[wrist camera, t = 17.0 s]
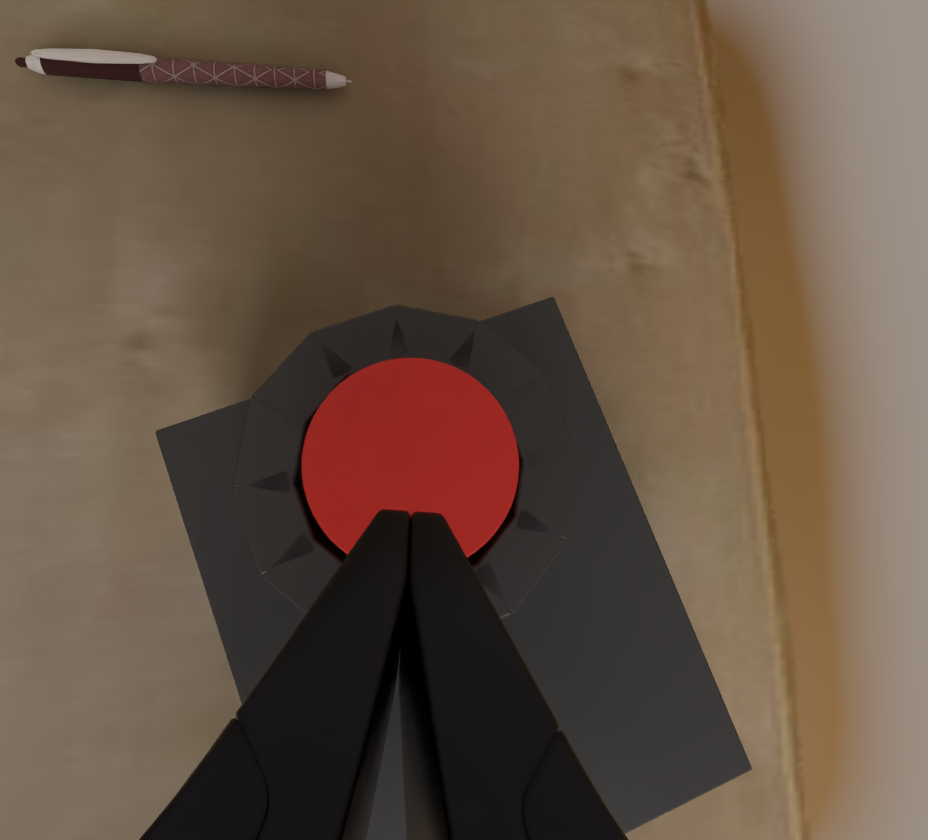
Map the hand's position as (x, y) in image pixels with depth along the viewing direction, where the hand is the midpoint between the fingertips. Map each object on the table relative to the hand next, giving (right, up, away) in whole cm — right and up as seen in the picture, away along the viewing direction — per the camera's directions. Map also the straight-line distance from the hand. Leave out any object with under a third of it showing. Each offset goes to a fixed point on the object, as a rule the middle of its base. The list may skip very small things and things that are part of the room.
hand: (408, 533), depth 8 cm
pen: (-9, +14, +14) cm, 21 cm away
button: (0, 0, +5) cm, 5 cm away
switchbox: (0, -4, +12) cm, 12 cm away
